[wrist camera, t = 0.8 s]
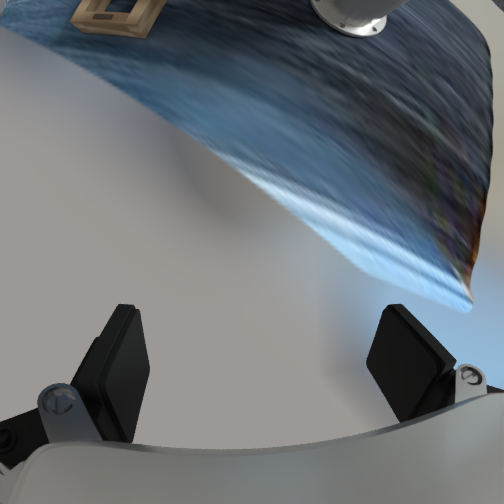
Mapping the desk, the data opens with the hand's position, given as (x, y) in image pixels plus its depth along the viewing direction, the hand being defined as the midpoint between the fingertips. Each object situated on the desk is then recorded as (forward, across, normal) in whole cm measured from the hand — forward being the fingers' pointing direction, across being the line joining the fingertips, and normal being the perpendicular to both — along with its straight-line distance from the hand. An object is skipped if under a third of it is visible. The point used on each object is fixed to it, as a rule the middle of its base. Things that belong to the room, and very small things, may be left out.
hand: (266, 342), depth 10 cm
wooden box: (+29, +17, -30) cm, 45 cm away
